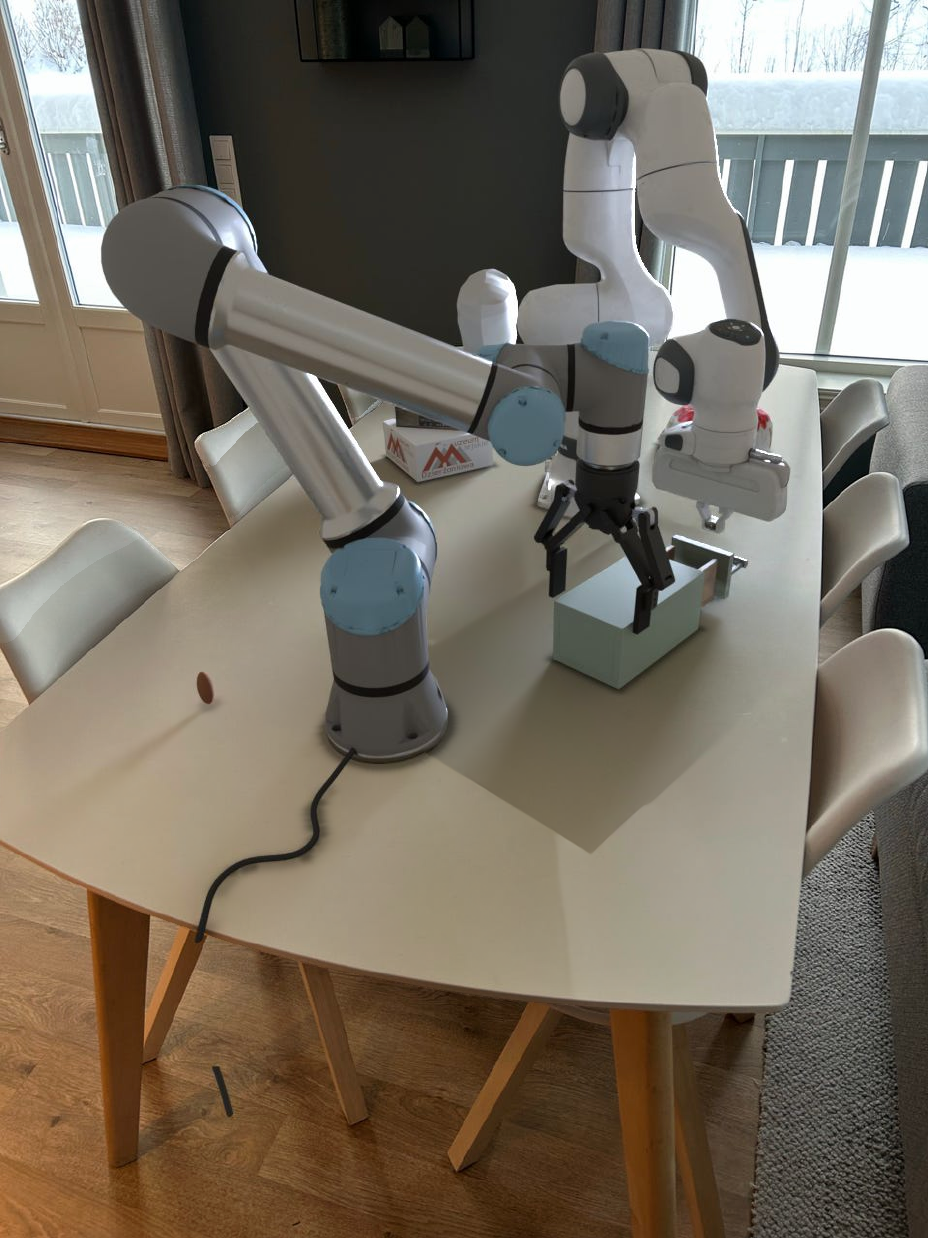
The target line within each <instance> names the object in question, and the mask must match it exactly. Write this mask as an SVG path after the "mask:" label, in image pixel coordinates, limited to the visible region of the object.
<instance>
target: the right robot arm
mask: <svg viewBox="0 0 928 1238" xmlns="http://www.w3.org/2000/svg"><path fill="white" fill-rule="evenodd" d="M708 79H709V77H708V73H707V70H706V67H705V64H704V63H703V62H702V60H701V59H700V58H699V57H697V56H696V55H694V54H692V53H690V52H687V51H683V50H679V49H672V50H670V51H669V50H664V49H657V48H656V49H655V48H639V47H638V48H637V47H636V48H633V49H629V50H616V51H610V52H605V53H604V52H601V51H595V52H589V53H586V54H582V55H580V56H578V57H575V58H574V59H573V60H571V61H570V63H568V65H567V67H566V68H565V71H564V73H563V75H562V77H561V80H560V84H559V88H558V96H557V97H558V101H557V102H558V110H559V115H560V118H561V121H562V123H563V124H564V126H565V128H566V129H567V131H568V132H569V134H568V138H567V146H566V151H565V160H564V168H563V187H562V189H563V191H562V192H563V193H562V194H563V195H562V198H563V199H562V239H563V242H564V245H565V247H566V248H567V250H568V251H569V252H570V253H571V254H573V255H574V256H576V257H578V258H580V259H581V260H583V261H585V262H587V263H589V264H591V265H593V266H595V267H596V268H597V269H598V270H599V273H600V280H599V281H598V282H597V281H596V282H592V283H563V284H558V283H557V284H553V285H549V286H543V287H540V288H535V289H533V290H529V291H528V292H527V293H526V295H525V296H524V297H523V299H522V300H521V302H520V304H519V307H518V308H517V313H518V314H517V321H516V328H517V331H518V335H519V337H520V339H521V341H522V342H523V344H573V343H580V342H581V338H582V335H583V331H584V329H585V328H586V327H587V326H588V325H590V324H592V323H596V322H605V321H624V322H630V323H634V324H637V325H639V326H641V327H643V328H644V329H645V330H646V332H647V333H648V334H649V349H650V348H654V347H658V346H660V347H659V349H658V351H657V352H656V355H655V358H654V361H653V368H652V376H653V377H652V379H653V385H654V387H655V389H656V391H657V392H658V394H660V396H661V397H662V398H663V399H665V401H667V402H669V403H671V404H674V405H677V406H685V405H689V406H691V407H693V409H694V417H693V421H689V422H684V423H681V424H678V425H676V426H674V427H671V428H670V429H668V430H666V431H664V432H663V433H662V432H661V433H660V434H659V436H658V437H659V444H658V445H659V448H658V449H657V451H656V453H655V456H654V460H653V467H652V474H651V481H652V484H653V486H654V487H655V489H656V490H659V491H662V492H666V493H670V494H673V495H676V496H679V497H682V498H687V499H689V500H692V501H696V503H695V504H696V506H695V507H696V510H697V512H698V515H699V517H700V519H701V525H700V529H701V530H705V531H707V532H711V533H714V534H717V535H721V534H722V533H724V531H725V527H726V521H727V520H728V519H729V518H730V517H731V516H732V514H733V513H737V514H740V515H744V516H747V517H751V518H754V519H757V520H760V521H764V522H768V523H771V522H773V521H775V520H776V519H778V518H780V517H781V516H782V515H784V513H785V512H786V509H787V504H788V484H789V481H790V476H791V466H790V465H789V463H788V462H787V461H785V460H784V459H783V456H781V455H779V454H775V453H769V452H768V453H766V452H763V451H759V450H756V449H755V442H756V435H757V427H758V415H757V407H758V404H759V402H760V400H761V397H762V395H763V393H764V392H765V391H766V390H767V389H768V388H769V386H770V385H771V384H772V382H773V380H774V379H775V377H776V375H777V373H778V371H779V368H780V361H781V357H780V356H781V355H780V354H781V353H780V349H779V345H778V343H777V340H776V337H775V335H774V332H773V329H772V327H771V324H770V321H769V319H768V318H769V317H768V313H767V309H766V305H765V300H764V295H763V291H762V286H761V282H760V276H759V271H758V267H757V262H756V258H755V253H754V248H753V244H752V240H751V236H750V233H749V229H748V227H747V223H746V221H745V218H744V217H743V215H742V214H741V212H740V211H738V210H737V209H735V208H734V207H733V206H732V203H731V202H730V200H729V199H728V196H727V194H726V192H725V189H724V185H723V183H722V179H721V173H720V166H719V163H720V162H719V155H718V145H717V139H716V134H715V127H714V121H713V117H712V114H711V110H710V106H709V103H708V94H709V80H708ZM635 189H636V190H637V191H636V190H635ZM635 192H636V193H637V203H638V207H639V213H640V215H641V219H642V221H643V224H644V225H645V227H647V229H648V230H649V231H650V232H651V234H653V236H655V237H656V238H657V239H659V240H661V241H662V242H664V243H666V244H668V245H671V246H672V247H676V248H680V249H682V250H685V251H689V252H691V253H693V254H696V255H698V256H699V257H701V258H703V259H704V260H705V261H706V262H707V263H708V264H710V265H711V267H712V268H713V271H714V272H715V274H716V277H717V281H718V284H719V289H720V294H721V299H722V302H723V307H724V313H725V316H726V318H722V319H717V320H714V321H711V322H709V324H708V325H706V326H705V328H704V329H702V330H699V331H697V332H693V333H688V334H681V335H678V336H674V337H672V338H668V337H669V336H670V334H671V332H672V329H673V327H674V322H675V315H676V314H675V311H676V310H675V305H674V302H673V299H672V297H671V295H670V293H669V292H668V290H667V289H666V288H665V287H664V286H663V285H662V284H660V283H659V282H658V281H657V280H655V279H654V278H653V276H652V275H651V274H650V273H649V272H648V270H647V268H646V267H645V265H644V263H643V262H642V259H641V257H640V255H639V252H638V248H637V244H636V235H635V234H636V233H635V195H636V194H635ZM666 339H667V340H666ZM565 416H566V420H565V425H564V435H563V439H562V443H561V445H560V446H559V448H558V449H557V451H556V452H555V453H554V454H553V457H552V459H547V460H545V461H544V473H545V477H544V480H543V482H542V485H541V489H540V492H539V495H538V498H537V504H536V505H537V506H538V507H540V508H542V509H547V510H548V509H549V508H550V506H551V504H552V502H553V500H554V495H555V488H556V486H557V485H559V484H561V483H563V482H565V481H567V480H569V479H571V480H573V481H574V483H575V477H576V461H577V459H578V458H579V457H578V456H577V453H576V450H577V434H578V418H579V411H572V412H565ZM660 446H661V448H660ZM635 503H636V505H638V504H640V503H641V497H640V495H639V494H638V493H637V492H636V494H635ZM710 506H713V507H717V508H718V514H719V515H720V516H719V517H716V516H713V514H712V511H711V508H710ZM579 511H580V510H579V508H578V506H577V504H576V502H575V499H573V500H572V501H571V503H570V504H569V506H568V508H567V510H566V512H565V513H564V515H563V517H564V516H565V517H568V518H572V517H573V516H574V515H575V514H576V513H577V512H579Z"/></svg>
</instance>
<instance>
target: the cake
mask: <svg viewBox="0 0 928 1238" xmlns="http://www.w3.org/2000/svg"><path fill="white" fill-rule="evenodd" d="M757 415H758V427H757V435H756V442H755V449H756V450H759V451H763V452H766V453H769V451H770V449H771V446H772V442H773V433H774V426H773V425H774V424H773V420H772V418H771V416H770V414H769V413H768V412H767V411H766V410H765V409H763V408H761V407H759V406H757ZM693 417H694V409H693V407H691V406H689V405H685V406H684V405H682V406H681V407H680V408H678V409H676V410H675V411H674V412H673V413H671V416H670V418H669V420H668V422H667V424H666V426H665V428H664V429H663V430H662V431H661V433H663V432H664V431H666V430H668V429H670V428H671V427H674V426H676V425H678V424H681V423H684V422H689V421H693ZM656 443H657V444H658V445H659V448H661V446H660V444H659V436H658V437H657V439H656Z"/></svg>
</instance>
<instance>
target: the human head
mask: <svg viewBox="0 0 928 1238" xmlns="http://www.w3.org/2000/svg"><path fill="white" fill-rule="evenodd" d="M456 310H457V325H458V329H459V332H460V336H461V342H462V348H463V349H462V350H465V351H468V352H470V353H473V354H475V355H476V353H477V351H478V349H479V348H480V347H482V346H485V345H497V344H504V343H512V344H516V343H517V342H516V341H517V336H518V334H517V314H518V299H517V294H516V288H515V285H514V283H513V282H512V281H511V279H510V278H509V276H508V275H507V274H505V273H503V272H501V271H500V270H497V269H495V268H488V269H487V268H486V269H482V270H479V271H477V272H475V273H473V274H471V275H469V276H468V277H467V279H466V280H465V282H464V283H463V284H462V286H461V287H460V290H459V293H458V295H457V301H456Z"/></svg>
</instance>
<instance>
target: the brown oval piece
mask: <svg viewBox="0 0 928 1238" xmlns="http://www.w3.org/2000/svg"><path fill="white" fill-rule="evenodd" d="M196 689H197V694H198V695H199V698H200V700H201V701H202V702H203V703H204V704H206V705H210V704H211V703H212V702H213V701H214V699H215V688H214V683H213V680H212V679H211V677H210V675H209V674H208V673H207V672H206V671H200V672H199V673H198V674H197V677H196Z"/></svg>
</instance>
